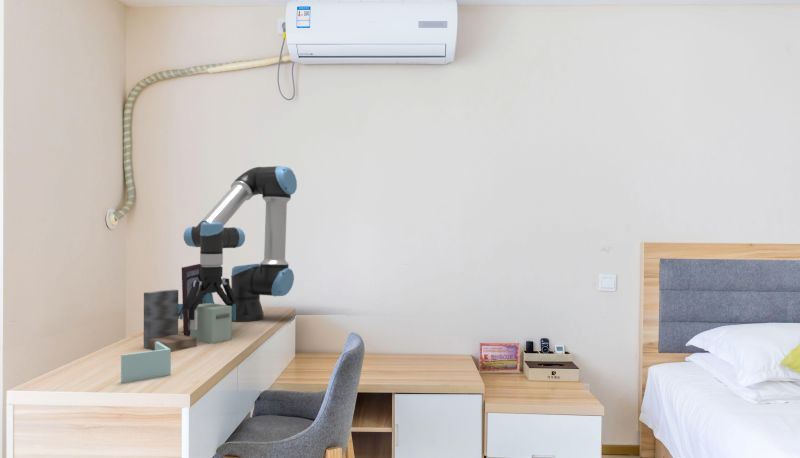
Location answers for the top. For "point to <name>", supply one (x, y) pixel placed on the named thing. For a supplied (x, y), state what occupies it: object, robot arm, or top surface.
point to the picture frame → (188, 277)
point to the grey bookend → (163, 321)
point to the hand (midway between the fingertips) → (210, 326)
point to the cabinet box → (213, 323)
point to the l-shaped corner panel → (146, 364)
